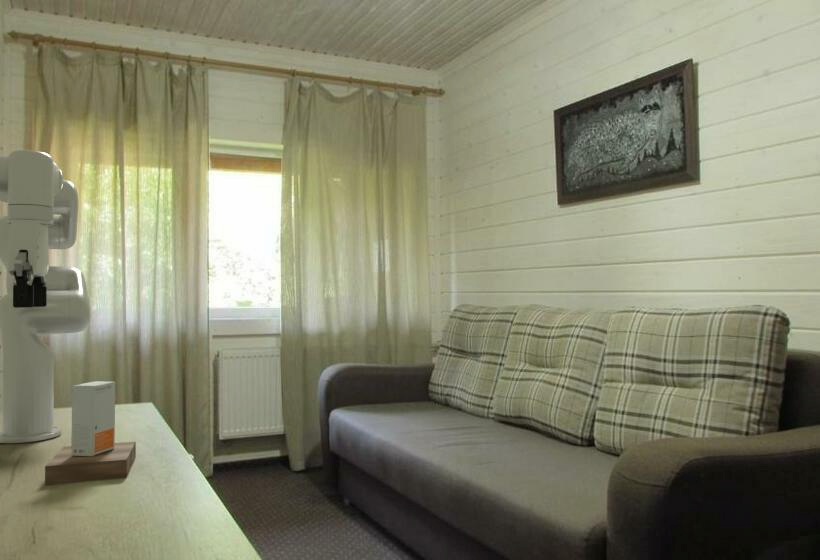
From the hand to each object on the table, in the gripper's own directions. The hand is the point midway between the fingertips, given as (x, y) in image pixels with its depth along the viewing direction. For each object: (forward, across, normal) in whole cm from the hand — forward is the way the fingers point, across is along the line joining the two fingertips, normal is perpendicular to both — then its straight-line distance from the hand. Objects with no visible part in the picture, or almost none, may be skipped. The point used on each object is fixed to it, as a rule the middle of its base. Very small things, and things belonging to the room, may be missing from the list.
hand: (30, 307), depth 120 cm
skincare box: (+26, +14, +13) cm, 32 cm away
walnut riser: (+28, +14, +13) cm, 34 cm away
